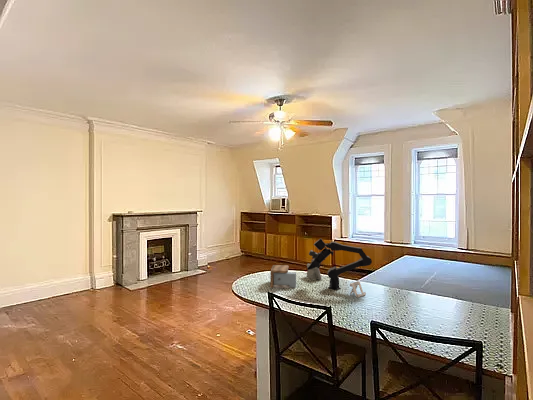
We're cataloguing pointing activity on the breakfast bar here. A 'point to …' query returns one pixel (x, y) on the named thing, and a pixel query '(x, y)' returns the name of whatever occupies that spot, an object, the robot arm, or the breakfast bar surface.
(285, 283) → the gray rectangular box
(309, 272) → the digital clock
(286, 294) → the breakfast bar surface
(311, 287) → the breakfast bar surface
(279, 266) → the cubby cabinet
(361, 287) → the portable electronic device stand
